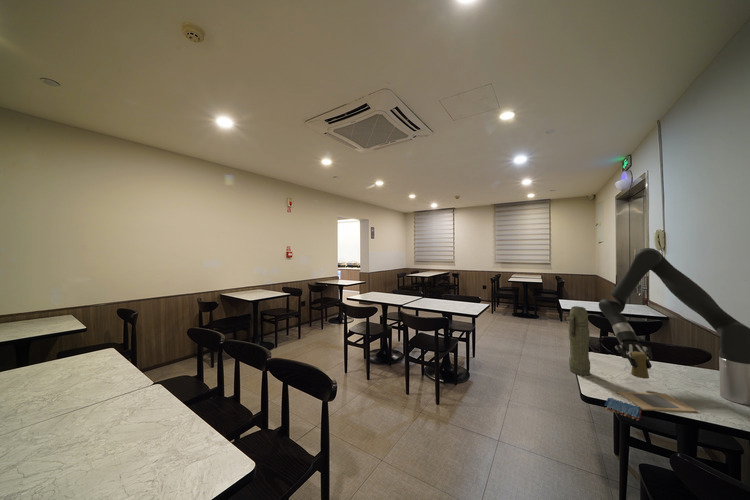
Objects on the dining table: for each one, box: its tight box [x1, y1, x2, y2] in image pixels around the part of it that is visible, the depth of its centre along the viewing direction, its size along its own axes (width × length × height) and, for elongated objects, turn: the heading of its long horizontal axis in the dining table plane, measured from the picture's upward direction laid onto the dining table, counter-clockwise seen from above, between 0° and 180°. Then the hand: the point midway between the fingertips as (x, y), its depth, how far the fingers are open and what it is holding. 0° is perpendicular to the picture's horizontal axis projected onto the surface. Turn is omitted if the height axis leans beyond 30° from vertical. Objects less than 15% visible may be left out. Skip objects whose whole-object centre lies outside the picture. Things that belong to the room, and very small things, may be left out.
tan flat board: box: [616, 391, 699, 413], centre depth 112 cm, size 20×13×1 cm, turn 84°
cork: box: [630, 351, 650, 380], centre depth 124 cm, size 6×6×11 cm
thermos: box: [568, 305, 591, 377], centre depth 140 cm, size 9×12×35 cm
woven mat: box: [603, 397, 643, 421], centre depth 107 cm, size 10×11×2 cm
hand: (642, 367), depth 122 cm, fingers closed on cork, 4 cm apart
